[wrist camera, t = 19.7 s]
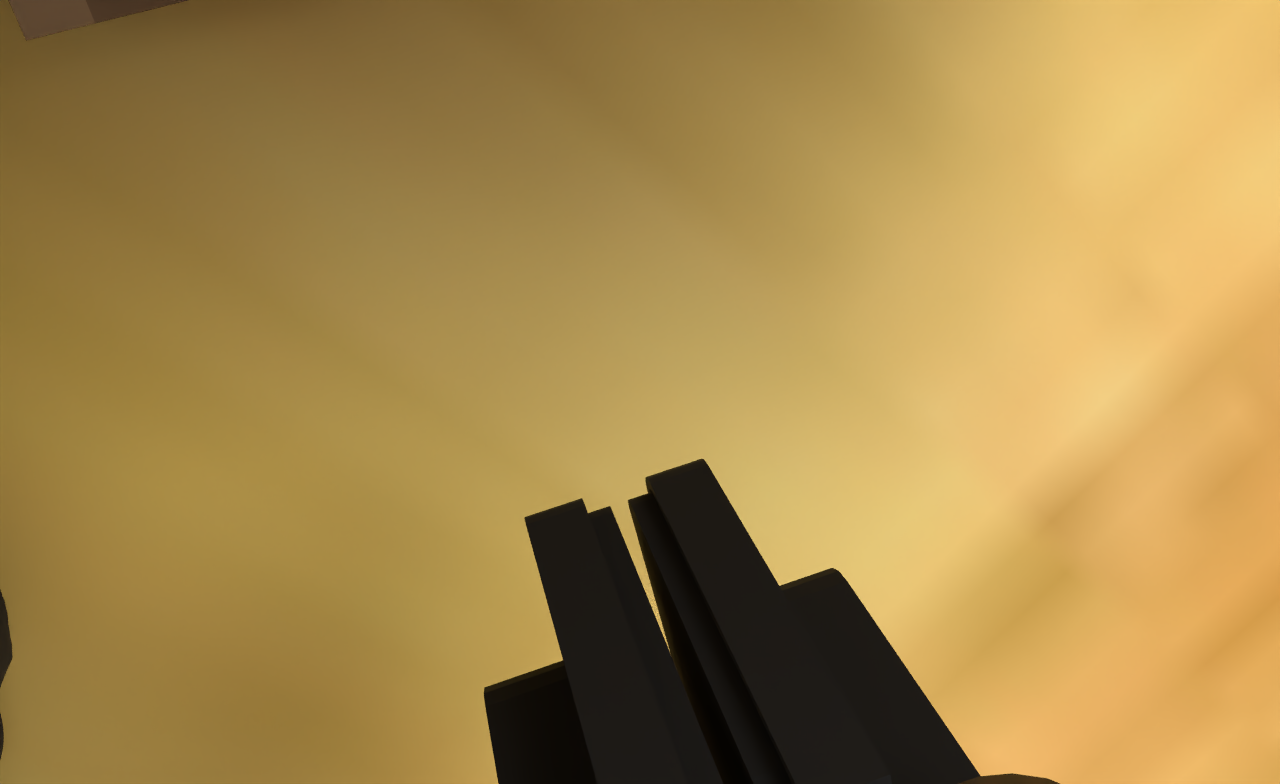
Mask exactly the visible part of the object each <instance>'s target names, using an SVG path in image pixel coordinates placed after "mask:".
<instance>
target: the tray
mask: <svg viewBox="0 0 1280 784" xmlns="http://www.w3.org/2000/svg"><path fill="white" fill-rule="evenodd" d="M183 1H187V0H9V3H10V5H11V7H12V9H13V12H14V14H15V16H16V19H17V21H18V23H19V25H20V28H21V30H22V32H23V34H24V37H25V39H26V40H30V39H34V38H38V37H42V36H46V35H50V34H54V33H58V32H62V31H66V30H70V29H74V28H78V27H82V26H86V25H90V24H94V23H98V22H102V21H107V20H111V19H115V18H119V17H123V16H127V15H131V14H135V13H139V12H143V11H147V10H151V9H155V8H159V7H163V6H167V5H171V4H175V3H179V2H183Z"/></svg>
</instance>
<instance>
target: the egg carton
mask: <svg viewBox="0 0 1280 784" xmlns="http://www.w3.org/2000/svg"><path fill="white" fill-rule="evenodd" d="M0 591H1V589H0ZM11 660H12V643H11V639H10V632H9V626H8V615H7V610H6V606H5V601H4V599H3V597H2V593H1V592H0V687H1V684H2V681H3V679H4V676H5V674H6V671H7V669H8V667H9V664H10V662H11ZM3 739H4V733H3V724H2V719H1V714H0V759H1V755H2V750H3Z"/></svg>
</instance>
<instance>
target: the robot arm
mask: <svg viewBox="0 0 1280 784" xmlns="http://www.w3.org/2000/svg"><path fill="white" fill-rule="evenodd" d="M646 486H647V491H648V494H645V495H642V496H639V497H636V498H633V499H630V500H628V503H629V508H630V512H631V516H632V519H633V523H634V526H635V530H636V533H637V537H638V540H639V544H640V547H641V551H642V554H643V558H644V561H645V565H646V568H647V572H648V575H649V579H650V582H651V586H652V589H653V593H654V597H655V600H656V604H657V607H658V611H659V614H660V618H661V621H662V625H663V628H664V632H665V635H666V639H667V642H668V646H669V649H670V652H669V649H668V647H667V644H666V642H665V639H664V637H663V634H662V632H661V630H660V627H659V625H658V622H657V620H656V617H655V615H654V612H653V610H652V607H651V605H650V603H649V600H648V598H647V595H646V593H645V590H644V588H643V585H642V583H641V580H640V578H639V576H638V573H637V571H636V568H635V566H634V563H633V561H632V558H631V556H630V553H629V551H628V549H627V546H626V544H625V541H624V539H623V536H622V534H621V531H620V529H619V526H618V524H617V522H616V519H615V517H614V514H613V512H612V510H611V507H610V506H609V507H606V508H603V509H600V510H597V511H594V512H591V513H587V510H586V507H585V504H584V502H583V499H579V500H576V501H572V502H569V503H566V504H563V505H560V506H557V507H554V508H551V509H548V510H545V511H542V512H539V513H536V514H533V515H530V516H527V517H525V522H526V526H527V530H528V533H529V537H530V541H531V544H532V548H533V552H534V555H535V559H536V562H537V566H538V570H539V573H540V577H541V581H542V584H543V588H544V592H545V595H546V599H547V603H548V606H549V610H550V614H551V617H552V621H553V624H554V628H555V632H556V635H557V639H558V643H559V646H560V650H561V654H562V657H563V661H560V662H557V663H554V664H552V665H549V666H546V667H543V668H540V669H537V670H534V671H531V672H528V673H525V674H523V675H520V676H517V677H514V678H511V679H508V680H505V681H502V682H499V683H496V684H493V685H491V686H488V687H485V688H484V699H485V707H486V713H487V719H488V724H489V730H490V736H491V742H492V748H493V754H494V760H495V766H496V771H497V777H498V783H499V784H1060V783H1058V782H1055V781H1052V780H1050V779H1047V778H1041V777H1034V776H1027V775H1020V774H1013V773H1011V774H1001V775H990V776H980V775H979V773H978V772H977V770H976V769H975V767H974V766H973V764H972V763H971V761H970V760H969V759H968V757H967V756H966V754H965V753H964V751H963V750H962V748H961V747H960V745H959V744H958V742H957V741H956V740H955V738H954V737H953V735H952V734H951V732H950V731H949V729H948V728H947V726H946V725H945V723H944V722H943V721H942V719H941V718H940V716H939V715H938V713H937V712H936V710H935V709H934V707H933V706H932V705H931V703H930V702H929V700H928V699H927V697H926V696H925V694H924V693H923V691H922V690H921V688H920V687H919V686H918V684H917V683H916V681H915V680H914V678H913V677H912V675H911V674H910V672H909V671H908V669H907V668H906V667H905V665H904V664H903V662H902V661H901V659H900V658H899V656H898V655H897V653H896V652H895V650H894V649H893V648H892V646H891V645H890V643H889V642H888V640H887V639H886V637H885V636H884V634H883V633H882V631H881V630H880V629H879V627H878V626H877V624H876V623H875V621H874V620H873V618H872V617H871V615H870V614H869V613H868V611H867V610H866V608H865V607H864V605H863V604H862V602H861V601H860V599H859V598H858V596H857V595H856V594H855V592H854V591H853V589H852V588H851V586H850V585H849V583H848V582H847V581H846V579H845V578H844V577H843V576H842V574H841V573H840V572H839V571H838V570H836V569H834V568H830V569H827V570H825V571H822V572H819V573H816V574H813V575H810V576H807V577H804V578H801V579H798V580H796V581H793V582H790V583H787V584H784V585H781V586H779V585H778V583H777V581H776V580H775V578H774V576H773V575H772V573H771V571H770V570H769V568H768V566H767V564H766V563H765V561H764V559H763V558H762V556H761V554H760V553H759V551H758V549H757V547H756V546H755V544H754V542H753V541H752V539H751V537H750V536H749V534H748V532H747V531H746V529H745V527H744V525H743V524H742V522H741V520H740V519H739V517H738V515H737V514H736V512H735V510H734V508H733V507H732V505H731V503H730V502H729V500H728V498H727V497H726V495H725V493H724V492H723V490H722V488H721V486H720V485H719V483H718V481H717V480H716V478H715V476H714V475H713V473H712V471H711V469H710V468H709V466H708V464H707V463H706V462H705V460H704V459H700V460H697V461H694V462H691V463H688V464H685V465H682V466H679V467H676V468H672V469H669V470H666V471H663V472H660V473H657V474H654V475H651V476H648V477H646ZM670 653H671V654H670ZM671 656H672V657H671Z"/></svg>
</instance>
